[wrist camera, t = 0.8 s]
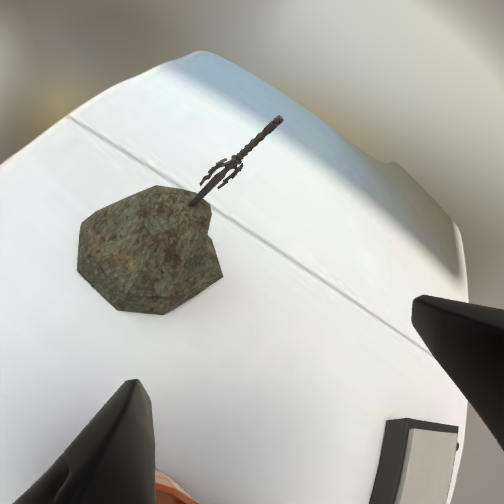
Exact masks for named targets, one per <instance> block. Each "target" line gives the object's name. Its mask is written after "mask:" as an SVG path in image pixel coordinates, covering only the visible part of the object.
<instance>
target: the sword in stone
mask: <svg viewBox="0 0 504 504" xmlns="http://www.w3.org/2000/svg"><path fill="white" fill-rule="evenodd" d="M282 122H283V118H282V117H281V116H280V115H279V116H277V117H276V118H275V119H274V120H273V121H271V122H270V123H269V124H268V125H267V126H266V127H265V128H264V130H263V131H262V132H261V133H258V134H257V136H256V137H255V138H254V139H252V140H251V141H250V143H249V144H248V145H246V146H245V148H244V149H242V150H241V151H240V153H238V154H237V155H233V156H232V157H231V158H232V159H231V160H230V161H228V162H226V163H223V162H225V161H226V160H227V159H226V158H225V159H223V160H221V161H219V162H218V163H216V166H214V167H212V168H211V169H210V170H209V171H208V173H209V175H207V176H204V178H203V179H202V181H201V183H200V186H201V185H202V184H203V183H204V181H205V180H207V179H209V178H210V177H211V175H212V174H213V173H214V172H215V171H216V169H218V168H220V167H223V166H225V168H224V169H223V170H222V171H221V172H219V173H217V174H216V175H215V176H214V177H213V178H212V179H211V180H210V181H209V182H208V183H207V184H206V186H205V187H204V188H203V189H202V190H201V191H200V192H199V193H198V194H197V193H195V192H191V191H187V190H182V189H177V188H171V187H164V186H157V185H156V186H153V187H151V188H148V189H146V190H143V191H141V192H139V193H136V194H134V195H131V196H129V197H127V198H124V199H122V200H120V201H118V202H115V203H113V204H111V205H109V206H107V207H105V208H102V209H100V210H98V211H96V212H95V213H94V214H92V215H91V216H90V217H88V218H87V219H86V220H85V221H83V222H82V224H81V227H80V236H79V249H78V265H77V271H78V272H79V273H80V274H81V275H82V276H83V277H84V278H85V279H86V280H87V281H88V282H89V283H90V284H91V285H92V286H93V287H94V288H95V289H96V290H97V291H98V292H99V293H100V294H101V295H102V296H103V297H104V298H105V299H106V300H107V301H108V302H109V303H111V304H112V305H113V306H114V307H115V308H116V309H117V310H123V311H131V312H140V313H150V314H160V315H164V314H165V313H167V312H169V311H170V310H172V309H174V308H175V307H177V306H178V305H180V304H182V303H183V302H185V301H187V300H188V299H190V298H191V297H193V296H195V295H196V294H198V293H200V292H201V291H203V290H204V289H205V288H207V287H208V286H210V285H211V284H213V283H214V282H216V281H217V280H219V279H220V278H222V277H223V274H222V271H221V268H220V265H219V262H218V259H217V255H216V252H215V249H214V246H213V242H212V239H211V238H210V237H209V236H208V235H207V234H208V229H209V225H210V220H211V216H212V213H211V208H210V204H209V203H208V202H206V201H205V200H204V199H203V198H204V197H205V196H206V195H207V194H208V193H209V192H210V191H211V190H212V189H213V188H214V187H215V186H216V185H217V184H218V183H219V182H220V181H221V180H222V179H223V178H224V177H225V175H226V173H227V172H228V171H229V170H231V169H235V171H234V172H233V173H232V174H231V175H230V176H228V177H227V178H226V179H224V180H223V183H222V184H221V185H220V186H218V189H220V188H221V187H222V186H224V185H225V184H227V183H228V180H229V179H230V178H232V179H233V178H234V177H235V176H236V175H237V173H238V172H239V171H241V169H242V167H243V163H242V164H241V162H242V161H241V159H243V158H244V156H246V155H247V154H248V152H250V151H252V149H253V148H254V147H255V146H257V145H258V143H259V142H260V141H262V140H263V139H264V138H265V137H266V136H267V135H268V134H270V133H271V132H272V131H273V130H274V129H275V128H277V126H278V125H280V124H281V123H282ZM237 164H241V165H240V166H239V167H238V168H237Z"/></svg>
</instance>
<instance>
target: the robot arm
mask: <svg viewBox="0 0 504 504" xmlns="http://www.w3.org/2000/svg"><path fill="white" fill-rule="evenodd" d="M411 321H412V324H413V326H414V328H415V329H416V331H417V332H418V334H419V335H420V337H421V338H422V340H423V341H424V343H425V344H426V346H427V347H428V349H429V350H430V352H431V353H432V355H433V356H434V358H435V359H436V360H437V362H438V363H439V364H440V365H441V367H442V368H443V369H444V370H445V372H446V373H447V374H448V375H449V377H450V378H451V379H452V380H453V382H454V383H455V384H456V386H457V387H458V388H459V389H460V391H461V392H462V393H463V395H464V396H465V397H466V399H467V400H468V401H469V403H470V404H471V405H472V406H473V408H474V409H475V411H476V412H477V413H478V415H479V416H480V417H481V419H482V420H483V422H484V423H485V424H486V426H487V427H488V429H489V430H490V431H491V433H492V434H493V436H494V437H495V439H497V442H498V443H499V445H500V446H501V448H502V449H503V451H504V310H503V309H497V308H492V307H486V306H481V305H475V304H470V303H465V302H460V301H454V300H449V299H444V298H439V297H433V296H428V295H421V296H419V297H417V298H415V299H414V300H413V304H412V317H411ZM13 504H156V488H155V438H154V428H153V418H152V406H151V400H150V397H149V396H148V394H147V392H146V390H145V389H144V387H143V385H142V383H141V382H140V381H139V380H138V379H133V380H127V381H125V382H124V383H123V384H122V385H121V387H120V388H119V389H118V390H117V391H116V392H115V393H114V395H113V396H112V397H111V398H110V399H109V400H108V402H107V403H106V404H105V405H104V406H103V407H102V408H101V410H100V411H99V412H98V413H97V414H96V415H95V416H94V418H93V419H92V420H91V421H90V422H89V423H88V425H87V426H86V427H85V428H84V429H83V430H82V431H81V433H80V434H79V435H78V436H77V437H76V438H75V440H74V441H73V442H72V443H71V444H70V445H69V446H68V448H67V449H66V450H65V451H64V453H62V455H61V456H60V457H59V458H58V459H57V460H56V462H55V463H54V464H53V465H52V466H51V467H50V468H49V469H48V470H47V471H46V472H45V473H44V474H43V475H42V476H41V477H40V478H39V479H38V480H37V481H36V482H35V483H34V484H33V485H32V486H31V487H30V488H29V489H28V490H27V491H26V492H25V493H24V494H23V495H22V496H21V497H20V498H18V499H17V500H16V501H15V502H14V503H13Z"/></svg>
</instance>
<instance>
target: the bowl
mask: <svg viewBox="0 0 504 504" xmlns="http://www.w3.org/2000/svg"><path fill="white" fill-rule="evenodd" d="M155 488H156V504H198V503H197V502H196V501H195V500H194V499H193V498H192V497H191V496H190V495H189V494H188V493H187V492H186V491H185V490H184V489H183V488H182V487H181V486H180V485H179V484H177V483H176V482H175V481H174V480H172V479H171V478H170V477H168V476H167V475H165V474H164V473H162V472H160V471H158V470H155Z"/></svg>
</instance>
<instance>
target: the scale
mask: <svg viewBox="0 0 504 504" xmlns="http://www.w3.org/2000/svg"><path fill="white" fill-rule="evenodd" d="M458 428H459V427H458V426H452V425H445V424H439V423H433V422H427V421H421V420H416V419H410V418H402V419H394V420H387V423H386V430H385V436H384V442H383V447H382V452H381V457H380V462H379V467H378V472H377V476H376V480H375V484H374V488H373V492H372V496H371V500H370V504H446V500H447V496H448V492H449V487H450V482H451V477H452V472H453V466H454V460H455V453H456V451H457V450H458V448H459V443H458V442H457V438H458Z"/></svg>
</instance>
